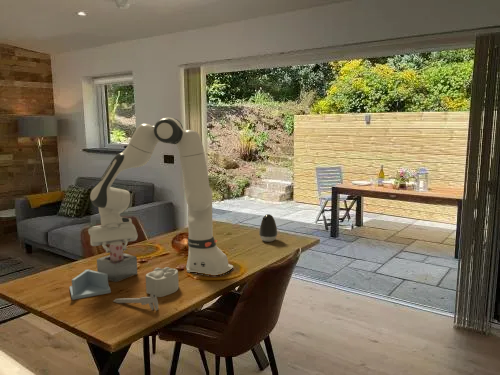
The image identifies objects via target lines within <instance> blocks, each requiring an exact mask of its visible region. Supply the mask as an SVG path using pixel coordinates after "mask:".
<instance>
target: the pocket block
mask: <svg viewBox="0 0 500 375" xmlns="http://www.w3.org/2000/svg"><path fill="white" fill-rule="evenodd" d="M123 257H124V259H122V260H119V261H117V262H114V261H110V254H109V255H105V256H102V257H99V258H96V267H97V269H96V270H97V272H101V273H105V274H108V281H111V282H114V283H117V282H120V281H123V280H125V279H128V278H130V277H132V276H136V275H137V274H138V261H137V260H138V257H137V255H133V254H132V255H131V254H128V253H124V252H123Z"/></svg>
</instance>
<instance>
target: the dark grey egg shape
mask: <svg viewBox="0 0 500 375" xmlns="http://www.w3.org/2000/svg"><path fill="white" fill-rule="evenodd" d="M258 235H259V237H260V239H261V240H262V241H263V242H269V243H270V242H273V241H276V240H277V237H278V228H277V223H276V220H275V218H274V217H273V215H272V214H265V215H264V216H263V217H262V220H261V223H260V226H259V234H258Z"/></svg>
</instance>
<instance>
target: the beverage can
mask: <svg viewBox="0 0 500 375" xmlns="http://www.w3.org/2000/svg"><path fill="white" fill-rule="evenodd" d="M108 245H109V247H110V253H109V255H110V261H114V262H117V261H119V260H122V259H124V257H123V253H124V250H123V245H124V244H123V242H121V241H113V242H110V244H108ZM109 247H108V248H109Z"/></svg>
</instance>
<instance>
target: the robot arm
mask: <svg viewBox="0 0 500 375" xmlns="http://www.w3.org/2000/svg"><path fill="white" fill-rule="evenodd" d="M159 142H161V143H164V144H171V145H176V146H177V148H178V153H179V157H180V158H179V159H180V165H181V170H182V175H183V185H184V192H185V198H186V203H187V206H188V216H187V217H188V218H187V219H188V220H187V222H188V223H187V224H188V225H187V226H188V237H187V246H188V254H187V255H188V256H187V261H186V265H185V269H186V272H187V273H190V272H198V273H205V274H211V275H218V274H222V273H225V272H227V271H229V270H230V269H232V268H233V269H234V265H232V264H230V263H229V260H228V259H229V258H228V256H227V254H226V253H224V252H223V251H222V249H221V248H219V247H218V246H217V243H218V239H215V238H214V236H213V232H214V231H213V191H212V188H211V186H210V181H209V172H208V166H207V161H206V160H207V159H206V154H205V150H204V145H203V142H202V138H201V136H200V134H199V132H198V131H196V130H193V129H184V127H183V124H182V123H181V122H180V120H179V119H176V118H174V117H163V118H161V119H159V120H157V121H156V122H155V124H154V125H151V124H150V123H141V124H140V125H138V126H137V128H136V129H135V130H134V132H133V134H132V136H131V139H129V142H128V145H127V146H126V148H125V149H124V150H122V152H120V153H117V154H116V155H115V156H114V157H113V158H112V160H111V162H110V163H109V164H108V166H107V168H106V170H105V171H104V172H103V174H102V176H101V177H100V179H99V180H98V182H97V183H96V184H95V185H94V187H93V188H92V189H91V191H90V194H89V199H90V202H91V204H92V205H93V206H94V207H96V208H98V213H99V215H100V225H95V226H91V227H89V228H88V229H87V232H88V235H89V237H90V246H92V247H99V246H102V248H103V249H104V250H105V253H106V254H107V253H108V254H110V247H108V246H107V245H110V242H113V241H121V242H122V243H124V244H123V251H127V245H128V242H135V241H137V239H138V236H139V235H138V232H137V229H136V228H137V227H136V225H135V224H134V223H133V221H132V218H131V217H124V216H121V214H122V213H124V212H126V211H127V209H129V208H130V207H131V206H132V203H133V202H132V201H133V198H132V194H131V192H130V191H129V190H126V189H122V188H116V187H114V186H112V185H113V184H114V181H116V178H117V177H118V175H119V174H120V173H121V172H123V171H124V170H127V169H128V170H129V169H133V168H134V169H136V168H140V167H143V166H145V165H147V163H148V162H149V161H150V160H151V158H152V155H153V152H154V150H155V148H156V146H157V145H158V144H159ZM233 269H232V270H233Z"/></svg>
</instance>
